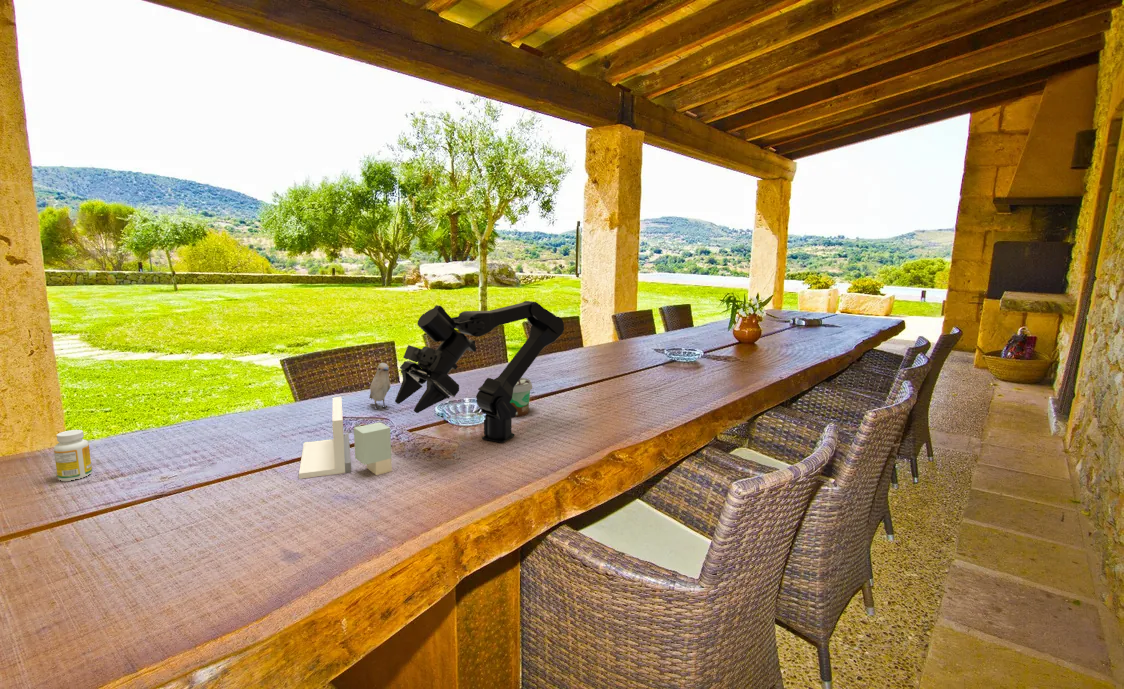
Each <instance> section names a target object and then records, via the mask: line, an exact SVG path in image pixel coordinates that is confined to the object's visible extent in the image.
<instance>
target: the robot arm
mask: <svg viewBox="0 0 1124 689" xmlns="http://www.w3.org/2000/svg"><path fill="white" fill-rule="evenodd" d="M525 319H526V320H527V322H528V324H530V325H531V326H530V330H529V337H528V338H527V339H526V341H525V342H524V343H523V345H522V346H521V347H520V349H519V350H518V351H517V352H516V354H515V355H514V356H513V357H512V358H511V360H510V361H509V362H508V364H507V365H506V366H505V368H504V369H503V370H502V372H501V373H500V374H499V375H498V376H497V377H496V378H491V377H486V379H485V380H484V382H483V383H482V385H481V386H480V387H479V388H477V389H478V391H477V393H476V396H475V397H476V405H477V406H478V408H480V410H481V413H482V414H484V420H483V436H481V439H482V440H485V441H490V442H496V443H500V444H503V443H505V442H507V441H509V440H510V439H512V438H513V437H515V433H513V432H512V428H513V427H512V425H513V424H512V422H513V421H512V419H513V418H516V417H515V415H516V412H517V409H516V408H515V407H514V406H513V405H512V404H511V403H510V401H511V399H512V395H513V388H514V386H515V385H516V384H517V382H518V381H519V380H520V378H523V376H524V375H525V373H526V372H527V371H528V369H529V368H530V367H531V365H532V364H533V362H535V360H537V357H538V356H539V354H540V353H541V352H542V350H544V348H545V347H547V346H549V345H551V344H552V343H555V342H556V341H557V340H558V339H559V338H560V337H561V336H562V335H563V333H564V331H565V324H564V320H563V318H561V317H560V316H557V315H555V314H554V313H552V312H551V311H549V310H548V309H547V308H545V307H543V306H542V305H541V304H540V303H539V302H537V301H530V300H524V301H523V302H520V303H517V304H512V305H511V304H510V305H507V306H503V307H499V308H495V309H491V310H464V311H461V312H460V313H459V315H458V316H455V317H451V316H450V315H449V314H448V313H447V312H446V310H445V308H444V307H443V306H442V305H438V304H436V305H435V306H434V307H433V308H431V309H429V310H428V311H426V312H424V313H423V314H421V316H420V317H419V318H418V321H417V323H416V324H417V326H418V327H419V328H420V329H421V330H422V331H423V332H424V333H425V334H426V335H427V336H428V337H429V338H430V339H431V340H432V341H433V342H435V343H439V342H440V344H439V345H438V347H436V349H435V348H432V347H429V346H426V345H425V346H423V347H422V348H420V347H416V346H413V345H409V344H408V345H407V347H406V350H405V352H404V355H403V359H405V360H407V361H404V362H403V363H402V364H401V365H400V366H399V368H400V373H401V375H402V382H401V385H400V387H399V390H398V392H397V394H396V397H395V399H394V402H395V403H396V404H397V405H400V404H401V403H402V402H404V401H405V400H407V399H408V398H410V397H411V396H412V395H414V394H415V393H416V392H417V391H419V390H420V389H422V388H423V385H424V384H425V383H426V389H425V391H424V392H423V394H422V395H421V397H420V399H419V400H418V402H417V403H416V405H415V406H414V408H413V412H415V413H416V414H419V413H421V412H422V411H424V410H427V409H429V408H430V407H432V406H434V405H437V403H441V402H442V401H445V400H447V399H450V398H451V397H453V398H455V397H456V395H457V394H458V393H459V392H460V385H459V383H458V382H457V381H455V379H453V378H452V377H451V376H450V375H449V373H450V372H451V371H452V370H454V371H456V370H457V369H458V367H459V366H458V365H457V363H458V361H459V360H460V359H461V358H462V356H463V355H464V354H465V352H466V351H470V352H473V353H475V352H476V351H477V347H476V340H474V339H469V337H467V335H468V336H472V337H477V338H479V337H483V336H485V335H486V334H488V333H490V332H492V331H493V330H495V328H497V327H499V326H502V325H506V324H509V323H514V322H518V321H520V320H525ZM456 329H457V330H458V331H457V330H456Z"/></svg>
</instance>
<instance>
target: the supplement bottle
mask: <svg viewBox="0 0 1124 689" xmlns="http://www.w3.org/2000/svg"><path fill="white" fill-rule="evenodd" d="M56 441H57V442H58V443H56V444H55V445H54V447H53V454H54V460H55V461H54V462H55V469H56V475H57V477H56V478H57V480H59V481H60V480H61V481H60V482H72V481H71V480H74V481H76V480H75V479H79V480H81V479H80V478H82V479H84V478H83V477H85V476H87V477H89V476H90V475H89V474H92V473H93V467H92V458H91V450H90V443H89V441H88V440H86V439H84V431H83V430H82V429H72V430H71V429H70V430H66V431H61V432H59V433H57V434H56ZM88 475H89V476H88ZM85 478H86V477H85Z"/></svg>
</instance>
